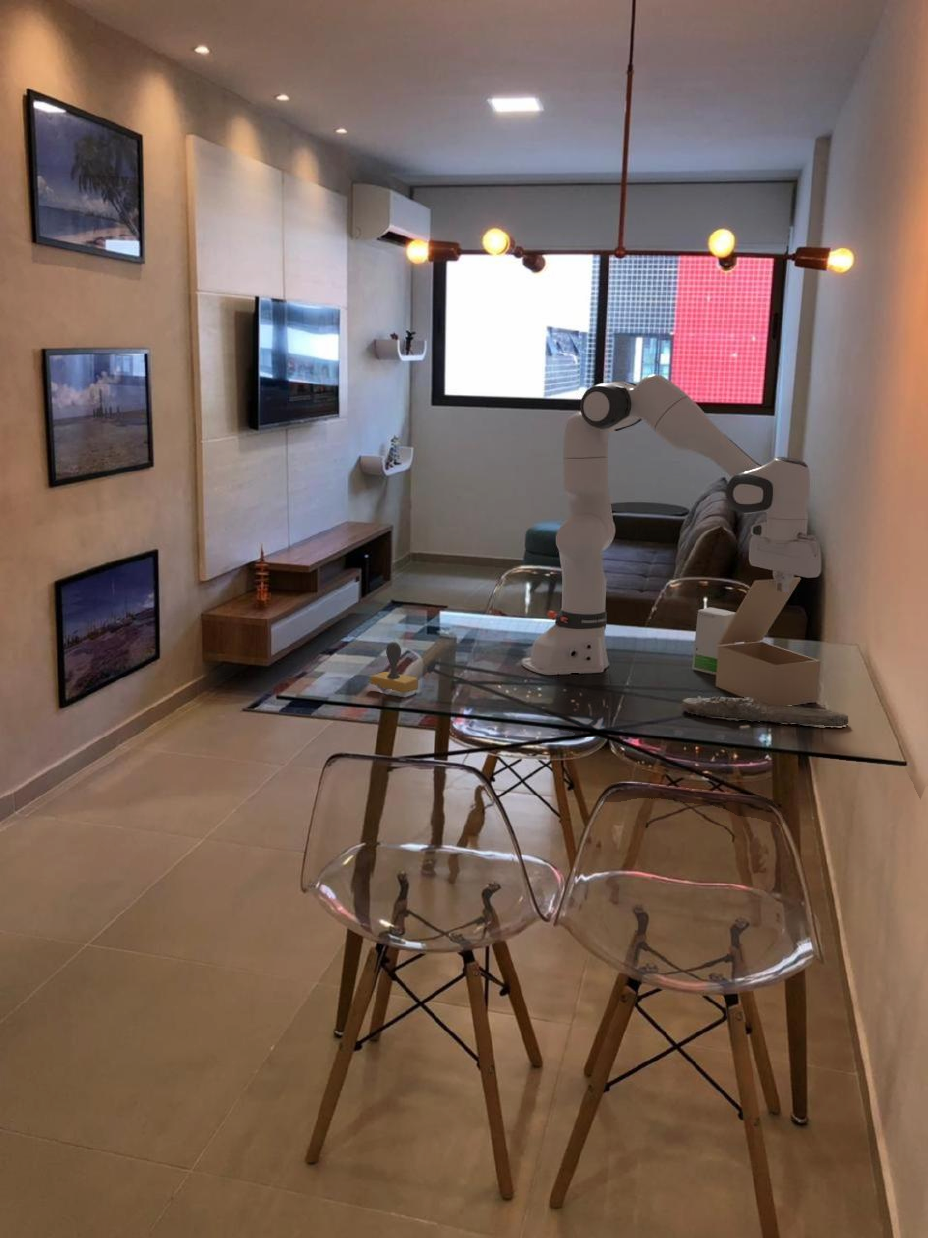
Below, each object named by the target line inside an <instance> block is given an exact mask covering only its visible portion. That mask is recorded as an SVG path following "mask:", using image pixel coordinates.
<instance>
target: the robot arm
mask: <svg viewBox="0 0 928 1238" xmlns="http://www.w3.org/2000/svg"><path fill="white" fill-rule="evenodd" d="M642 421H643V422H645V423H646V424H647V426H649V427H650V428H651V429H652V430H653V431H654V432H655V433H656V434H657V435H658V436H659V438H661V440H663V441H664V442H666V443H667V444H669V445H670V446H672V447H673V448H675V449H677V450H679V451H683V452H688V453H694V454H697V455H700V456H703V457H705V458H707V459H709V460H710V461H712V462H713V463H715V464H716V465H717V466H718V467H719V468H720V469H721V470H723V471H724V472H725V473H726V474H727V475H728V476H729V477H730V479H729V481H728V482H727V484H726V486H725V492H724V495H725V500H726V502H727V504H728V506H729V507H730V508H731V509H732V510H733V511H734V512H737V513H739V514H740V513H741V514H744V515H752V514H756V513H757V514H758V513H761V512H763V513H764V512H765V513H766V521H764V522H761V523H757V524H753V525H751V527H750V534H751V535H752V537H751V538H750V540H749V547H748V561H749V563H750V566H752V567H758V568H762V569H766V570H770V571H772V577H773V579H774V580H775V583H776V590H777V591H781V592H788V591H789V585H790V583H791V582H792V580H793V578H795V576H797V577H803V578H807V579H809V578H810V579H811V578H817V577H819V576H820V575H821V573H822V553H821V547H820V543H821V542H820V541H819V540H818V538H817V537H816V535H814V534H807V533H808V521H809V515H808V509H807V508H808V503H809V501H810V496H811V493H810V492H811V476H810V469H809V466H808V464H807V463H806V462H804V461H802V460H800V459H797V458H793V457H785V456H777V457H774V458H773V459H772V460H770V461H769V462H768V463H766V464H763V465H762V464H759V463H758V462H757V461H756V460H754V459H753V458H752V457H751V456H750V455H748V454H747V453H746V451H744V450H743V449H742V448H741V447H740V446H739V445H737V444H736V443H735V442H734V441H733V440H732V439H731V438H730V437H728V436H727V435H726V434H725V433H724V432H723V431H722V430H721V429H720V428H719V427H718V426H717V425H716V424H715V422H714V421H712V419H710V418H709V416H708V415H707V414H706V413H705V412H704V411H703V410H702V408H701V406H699V405H698V404H697V403H696V402H695V401H694V400H693V399H692V398H691V397H690V396H689V395H688V394H687V393H686V392H685V391H684V390H682V389H681V388H680V387H679V386H678V385H676V384H675V383H673V382H672V381H671V380H669V379H668V378H666V377H665V376H663V375H661V374H659V373H658V374H655V373H653V374H650V375H647V376H645V377H643V378H642V379H641V380H640V381H639V382H637V384H636V383H635V382H627V381H626V382H625V381H611V382H602V383H597V384H594V385H593V386H590V387H589V388H588V389H587V390H586V391H585V392H584V393H583V395H582V397H581V399H580V404H579V411H578V412H575V413H574V414H572V415H571V416H569V418H568V419H567V421H566V424H565V429H564V436H563V451H562V454H563V455H562V457H563V459H562V461H563V462H562V463H563V464H562V465H563V466H562V467H563V470H562V471H563V491H564V493H565V496H566V500H567V503H568V508H569V516H570V517H568V518H567V519H566V520H564V521H563V522H562V523H561V525H560V526H559V528H558V530H557V532H556V533H555V545H556V547H557V549H558V553H559V555H558V556H559V562H560V568H561V577H562V587H561V588H562V589H561V608H560V610H559V611H558V612H556V611H554V610H549V611H548V612H547V617H548V619H550V620H555V621H554V624H553V625H552V626H551V627H550V628H549V629H547V630H546V631H544V632H543V633H542V634H541V635H540V636H538V638H536V639H535V640H534V642H533V644H532V647H531V653H530V657H526V658H523V659H522V660H521V665H522V666H523V667H524V668H525V669H527V670H529V671H532V672H534V673H537V674H542V675H545V676H557V675H558V674H559V675H572V674H571V673H579V674H595V673H596V674H597V673H599V674H600V673H603V672H604V670H605V669H607V668H608V667H609V666H610V662H609V659H608V654H607V647H606V632H605V631H606V629H607V610H606V595H607V594H606V593H607V578H606V577H605V571H604V564H603V551H605V550H607V549H608V548H609V546H611V544H612V542H613V540H614V538H615V534H616V525H615V522H614V519H613V517H614V516H613V510H612V505H611V504H612V503H611V498H610V490H609V448H608V447H609V445H608V443H609V438H610V436H611V434H612V433H613V432H614V431H615V432H619V431H622V430H624V429H627V428H631V427H633V426H635V425H637V424H639V423H640V422H642ZM783 578H784V580H783Z"/></svg>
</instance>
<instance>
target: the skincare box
mask: <svg viewBox="0 0 928 1238" xmlns="http://www.w3.org/2000/svg"><path fill="white" fill-rule="evenodd" d="M735 613H736V612H734V611H730V610H726V609H721V608H717V607H711V606H709V607H706V608H701V609H698V610H697V614H696V615H697V616H696V617H697V618H696V625H695V627H696V628H695V637H694V646H693V647H694V648H693V658H692V667H691V668H692V670H694V671H699V672H702V673H706V674H710V675H715V676H716V673H717V659H718V646H722V645H732V644H736V643H731V644H722V645H719V644H718V642H719V640H720V639H721V637H722V635H723V634H724V632H725V630H726V628H727V627H728V625H729V623H730V622H731V620H732V618H733V617H734V615H735Z"/></svg>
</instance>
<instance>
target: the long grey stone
mask: <svg viewBox="0 0 928 1238" xmlns="http://www.w3.org/2000/svg"><path fill="white" fill-rule="evenodd" d="M681 709H682V710H683V711H685V712H686V713H687V714H689V713H691V714H690V715H694V714H696V715H695V716H700V715H701V716H700V717H703V716H707V717H706V718H708V717H725V718H737V719H745V720H753V721H765V722H770V723H771V722H772V723H773V722H775V723H774V724H776V723H778V724H779V723H796V724H813V725H824V726H843V725H846V724H848V725H849V715H847V714H844V713H842V712H841V713H840V712H837V711H832V710H829V709H825V708H824V709H823V708H811V707H802V706H783V705H772V704H768V703H763V702H758V701H756V700H754V698H750V697H747V698H746V697H745V698H743V697H726V696H721V697H720V696H713V697H696V698H695V697H689V698H688V697H686V698H684V699H682V701H681ZM765 722H764V723H765Z"/></svg>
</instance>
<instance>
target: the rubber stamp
mask: <svg viewBox="0 0 928 1238" xmlns="http://www.w3.org/2000/svg"><path fill="white" fill-rule="evenodd" d="M385 652H386V657H387V661H388V663H389V666H390V672H389V671H382V672H379V673H377V674H374V675H370V676H369V684H370V683H371V684H375V685H377V686H380V687H382V688H388V689H392V690H396V691H399V692H402V693H405V692H410V691H413V690H418V691H419V687H418V686H419V684H418V683H419V679H418V677H415V676H414V677H413V676H409V675H403V674H399V673H398V672H397V667H398V664H399V662H400V658H401V655H402V647H401V645H400V644H399V643H398V642H396V641H391V642H389V643H388V644H387V646H386V649H385Z"/></svg>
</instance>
